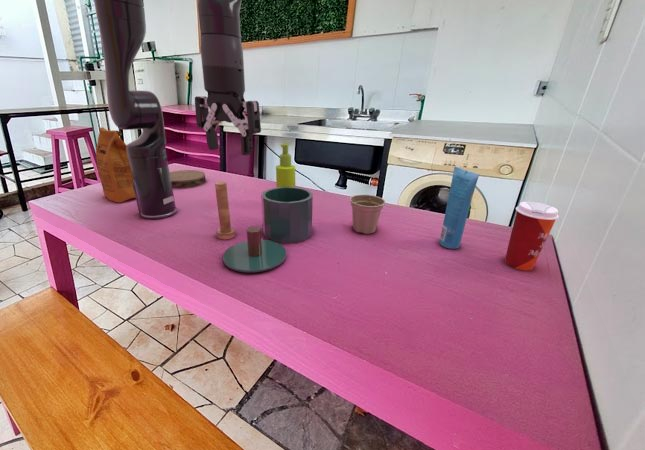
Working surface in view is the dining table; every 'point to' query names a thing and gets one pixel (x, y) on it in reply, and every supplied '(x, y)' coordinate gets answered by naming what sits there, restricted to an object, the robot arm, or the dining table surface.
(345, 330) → the dining table surface
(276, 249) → the lid
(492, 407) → the dining table surface
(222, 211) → the wooden pestle
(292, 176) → the soap dispenser
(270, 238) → the canister
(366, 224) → the flower pot
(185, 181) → the brown round disc
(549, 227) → the paper cup
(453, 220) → the tube
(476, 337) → the dining table surface
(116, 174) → the coffee package
